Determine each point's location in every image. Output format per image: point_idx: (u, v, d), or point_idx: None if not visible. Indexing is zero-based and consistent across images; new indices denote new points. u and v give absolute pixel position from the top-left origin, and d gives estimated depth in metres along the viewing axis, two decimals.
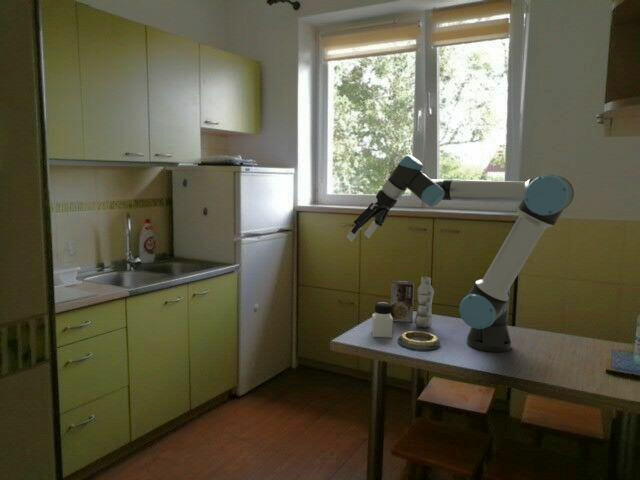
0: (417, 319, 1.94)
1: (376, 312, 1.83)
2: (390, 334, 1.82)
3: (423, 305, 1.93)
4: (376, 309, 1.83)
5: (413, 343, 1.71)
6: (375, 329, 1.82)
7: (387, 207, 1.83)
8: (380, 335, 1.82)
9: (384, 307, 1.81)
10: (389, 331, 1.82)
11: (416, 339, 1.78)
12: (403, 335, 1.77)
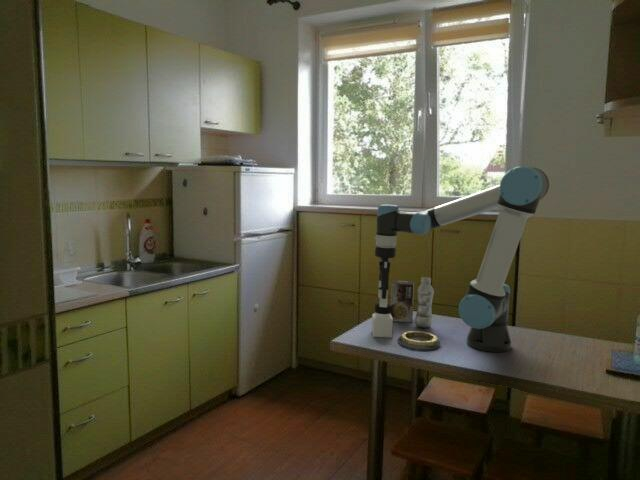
0: (417, 319, 1.94)
1: (376, 312, 1.83)
2: (390, 334, 1.82)
3: (423, 305, 1.93)
4: (376, 309, 1.83)
5: (413, 343, 1.71)
6: (375, 329, 1.82)
7: None
8: (380, 335, 1.82)
9: (384, 307, 1.81)
10: (389, 331, 1.82)
11: (416, 339, 1.78)
12: (403, 335, 1.77)
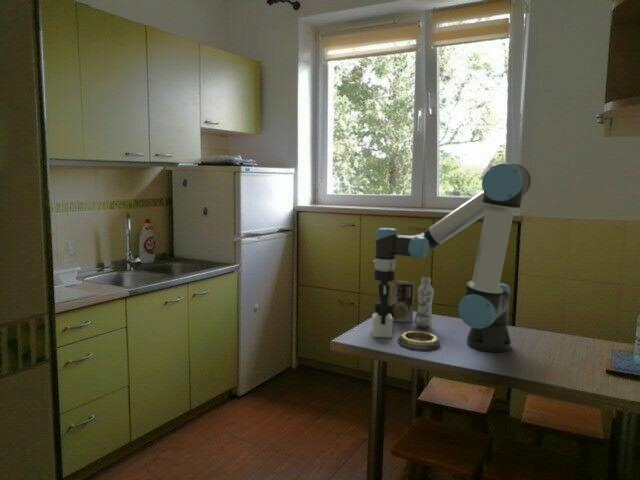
0: (417, 319, 1.94)
1: (376, 312, 1.83)
2: (390, 334, 1.82)
3: (423, 305, 1.93)
4: (376, 309, 1.83)
5: (413, 343, 1.71)
6: (375, 329, 1.82)
7: None
8: (380, 335, 1.82)
9: None
10: (389, 331, 1.82)
11: (416, 339, 1.78)
12: (403, 335, 1.77)
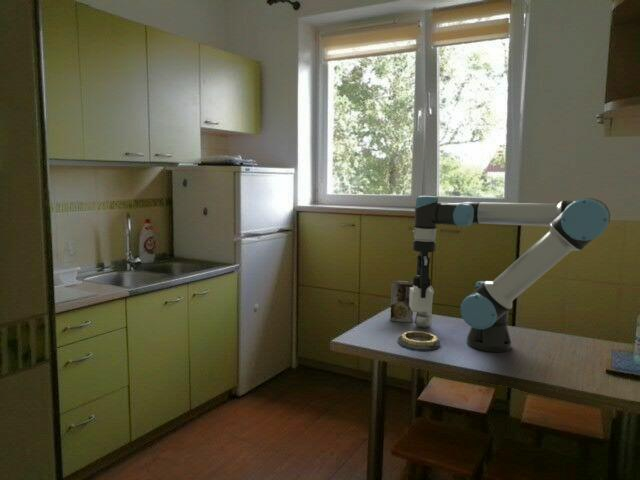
0: (417, 319, 1.94)
1: (415, 285, 1.73)
2: (430, 308, 1.72)
3: None
4: (415, 282, 1.73)
5: (413, 343, 1.71)
6: (414, 303, 1.71)
7: None
8: (419, 309, 1.72)
9: None
10: (429, 305, 1.71)
11: (416, 339, 1.78)
12: (403, 335, 1.77)
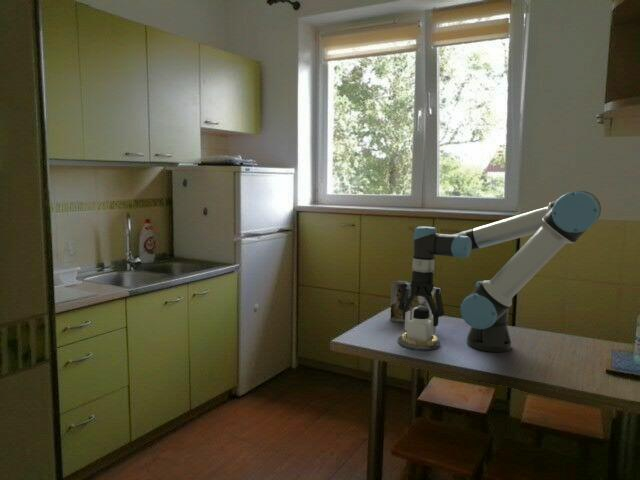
0: None
1: (421, 318, 1.73)
2: (431, 336, 1.77)
3: (423, 305, 1.93)
4: (421, 315, 1.72)
5: (413, 343, 1.71)
6: (426, 336, 1.72)
7: None
8: (428, 340, 1.74)
9: (428, 310, 1.74)
10: None
11: None
12: (403, 335, 1.77)
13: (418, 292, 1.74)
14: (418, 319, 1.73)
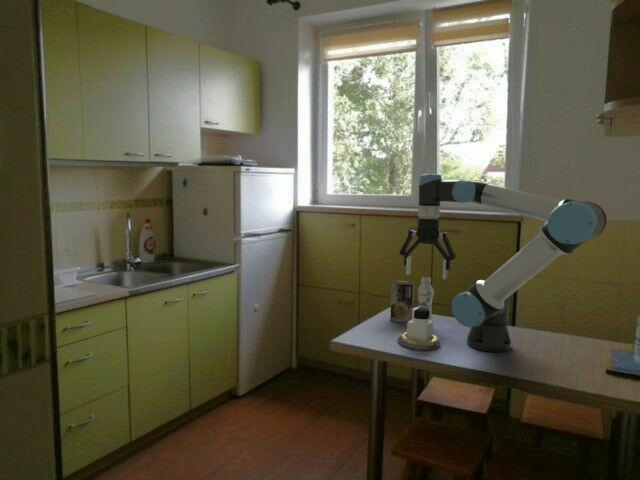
0: None
1: (422, 319, 1.73)
2: (431, 337, 1.77)
3: (423, 305, 1.93)
4: (422, 315, 1.72)
5: (413, 343, 1.71)
6: (426, 336, 1.72)
7: None
8: None
9: (429, 311, 1.74)
10: (431, 334, 1.76)
11: None
12: (403, 335, 1.77)
13: (424, 240, 1.75)
14: (418, 319, 1.73)
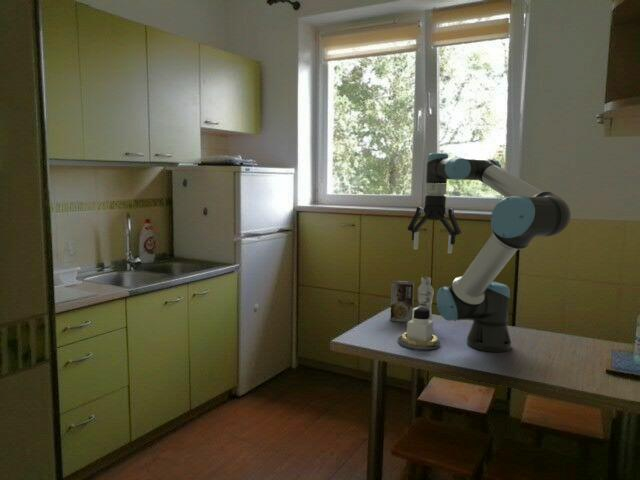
0: None
1: (422, 319, 1.73)
2: (431, 337, 1.77)
3: (423, 305, 1.93)
4: (422, 315, 1.72)
5: (413, 343, 1.71)
6: (426, 336, 1.72)
7: None
8: None
9: (429, 311, 1.74)
10: (431, 334, 1.76)
11: None
12: (403, 335, 1.77)
13: (431, 216, 1.84)
14: (418, 319, 1.73)
